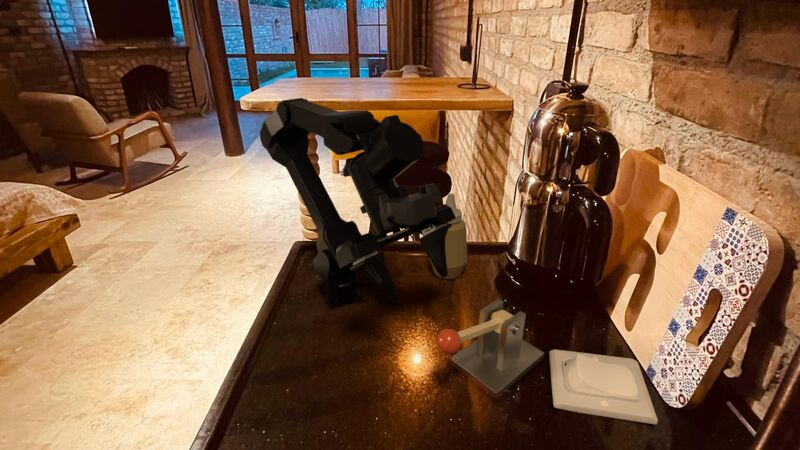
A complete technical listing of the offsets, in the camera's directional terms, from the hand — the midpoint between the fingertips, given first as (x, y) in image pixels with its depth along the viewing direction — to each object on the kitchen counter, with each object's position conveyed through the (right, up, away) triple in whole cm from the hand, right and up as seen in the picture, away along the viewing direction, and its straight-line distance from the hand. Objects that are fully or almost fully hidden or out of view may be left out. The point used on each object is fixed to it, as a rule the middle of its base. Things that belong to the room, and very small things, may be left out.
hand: (422, 288), depth 58 cm
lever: (+7, -7, -1) cm, 10 cm away
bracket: (+12, -12, +6) cm, 18 cm away
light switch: (+26, -15, +1) cm, 30 cm away
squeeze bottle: (+7, -1, +29) cm, 30 cm away
